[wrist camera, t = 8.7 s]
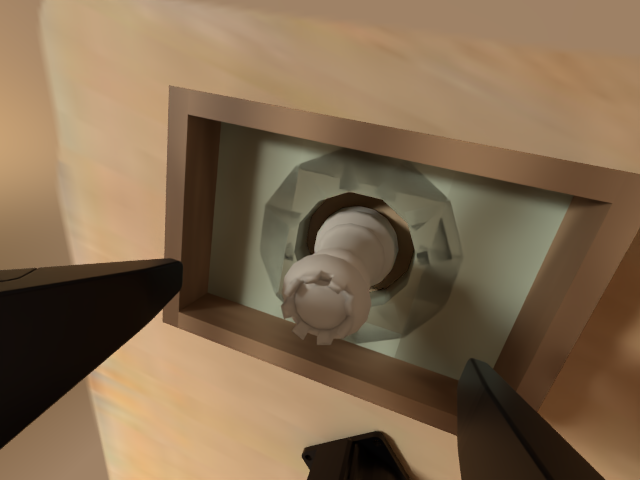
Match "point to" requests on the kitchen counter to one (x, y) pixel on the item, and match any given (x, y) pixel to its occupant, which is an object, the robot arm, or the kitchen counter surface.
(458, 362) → the bore tray
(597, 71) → the kitchen counter surface
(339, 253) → the rook chess piece
